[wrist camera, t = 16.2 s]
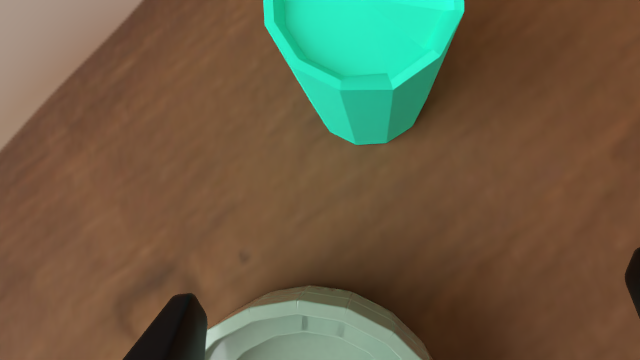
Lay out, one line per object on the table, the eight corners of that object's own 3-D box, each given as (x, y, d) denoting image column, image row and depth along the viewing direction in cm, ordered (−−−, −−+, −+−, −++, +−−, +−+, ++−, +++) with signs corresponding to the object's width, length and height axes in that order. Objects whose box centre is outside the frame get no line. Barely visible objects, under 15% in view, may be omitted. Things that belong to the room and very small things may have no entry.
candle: (300, 133, 24) (222, 53, 12) (325, 24, 24) (274, -162, 12) (413, 156, 23) (453, 95, 11) (438, 43, 23) (503, -137, 11)
